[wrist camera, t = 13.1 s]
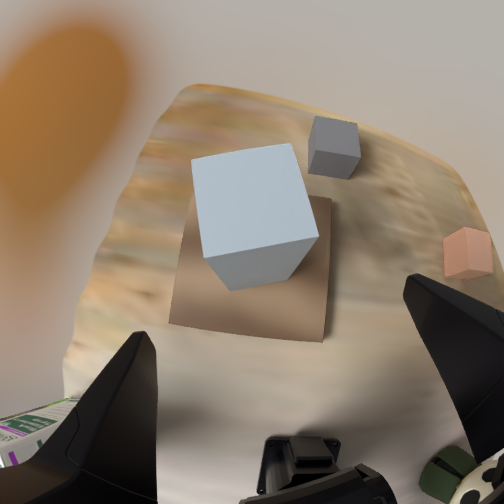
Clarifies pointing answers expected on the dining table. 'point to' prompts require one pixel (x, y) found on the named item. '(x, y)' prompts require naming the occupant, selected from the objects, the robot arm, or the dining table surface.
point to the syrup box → (30, 430)
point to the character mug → (458, 477)
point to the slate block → (253, 215)
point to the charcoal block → (333, 148)
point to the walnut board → (254, 290)
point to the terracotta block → (467, 254)
